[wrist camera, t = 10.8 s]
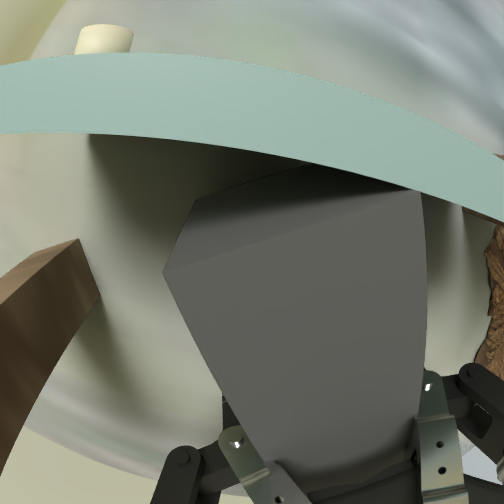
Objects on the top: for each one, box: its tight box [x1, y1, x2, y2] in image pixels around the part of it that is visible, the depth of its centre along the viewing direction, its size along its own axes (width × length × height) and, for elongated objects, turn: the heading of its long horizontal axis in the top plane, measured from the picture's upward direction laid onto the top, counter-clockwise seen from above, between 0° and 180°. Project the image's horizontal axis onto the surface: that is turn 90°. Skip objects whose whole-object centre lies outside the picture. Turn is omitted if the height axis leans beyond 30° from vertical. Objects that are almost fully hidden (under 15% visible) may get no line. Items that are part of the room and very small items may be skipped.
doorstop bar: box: [163, 163, 427, 498], centre depth 11 cm, size 16×5×7 cm, turn 17°
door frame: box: [0, 153, 504, 476], centre depth 8 cm, size 3×26×12 cm, turn 102°
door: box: [0, 24, 504, 222], centre depth 8 cm, size 3×17×7 cm, turn 80°
